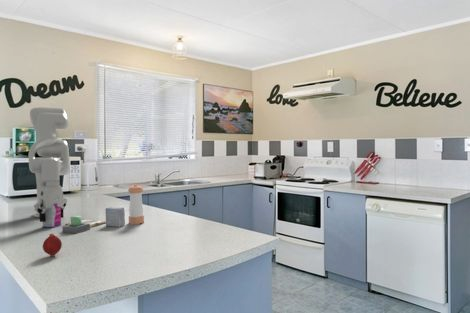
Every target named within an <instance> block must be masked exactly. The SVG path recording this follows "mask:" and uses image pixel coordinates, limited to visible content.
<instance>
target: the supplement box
mask: <svg viewBox="0 0 470 313" xmlns="http://www.w3.org/2000/svg"><path fill="white" fill-rule="evenodd" d="M44 213H45V214H46V221H45V222H42V228H45V229H47V228H48V229H53V228H56V227H60V226H62V218H61V207H58V206H57V203H55V204H52V208H51V209H46V211H45V212H44Z"/></svg>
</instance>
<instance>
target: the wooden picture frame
mask: <svg viewBox="0 0 470 313" xmlns="http://www.w3.org/2000/svg"><path fill="white" fill-rule="evenodd" d="M81 223H86V224H90V229H91V228H94V227H98V226H101V225H106V220H104V221H103V220H95V219H81ZM69 224H71V222H68V223H64V226H66V225H69Z"/></svg>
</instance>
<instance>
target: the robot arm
mask: <svg viewBox="0 0 470 313" xmlns="http://www.w3.org/2000/svg"><path fill="white" fill-rule="evenodd" d="M29 117H30V121H31V124H32V126H33V128H34V131H35V139H36V140H35V142H34V143H33V144H32V145H31V147H30V148H29V150H28V167H29V171H30V172H31V173H33V174H35V180H36V203H35V204H33V207H34V212H36V213H34V217H35V218H39V222H41V223H43V222H45V221H46V214H45V213H44V212H45V211H46V209H51V208H52V204H55V203H57V206H58V207H61V219H64V210H65V207H66V206H67V203H68V199H66V198H64V192H63V188H62V185H61V184H60V183H61V182H60V176H66V175H68V174H69V173H70V169H71V168H70V167H71V165H70V164H71V162H70V150H69V144H68V142H67V141H66V139H57V130H59V129H60V130H65V129H67V128H68V125H69V117H68V115H67V112H66V111H65V109H64V108H61V107H44V106H43V107H33V108H31V109H30V111H29ZM36 154H37V155H38V156H39V157H36Z"/></svg>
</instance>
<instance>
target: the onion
mask: <svg viewBox="0 0 470 313" xmlns="http://www.w3.org/2000/svg"><path fill="white" fill-rule="evenodd" d="M61 240H62V239H60V238H59V236H57V235H55V234H54V233H50V234H49V236H48V237H46V239H45V240H44V241H43V243H42V250H43V252H44V253H45V254H47V255H49V256H50V257H55V256H56V254H58V253H59V252H60V250H61V248H62V247H63V246H62V245H63V243H62V241H61Z"/></svg>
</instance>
